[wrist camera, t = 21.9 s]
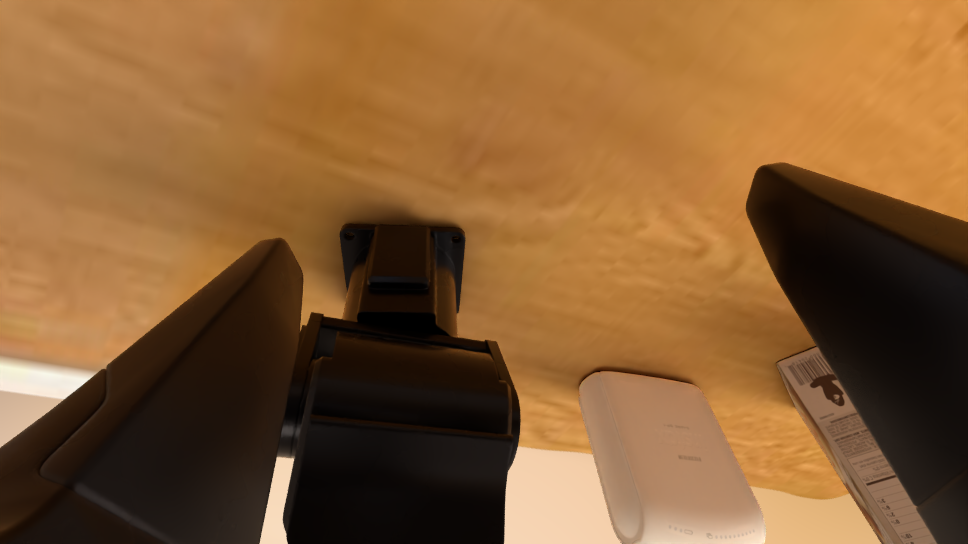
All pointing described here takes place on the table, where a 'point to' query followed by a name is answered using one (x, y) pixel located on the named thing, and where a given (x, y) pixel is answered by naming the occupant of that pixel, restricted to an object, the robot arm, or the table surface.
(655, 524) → the photo printer
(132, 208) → the table surface
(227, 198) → the table surface
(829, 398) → the coffee box
